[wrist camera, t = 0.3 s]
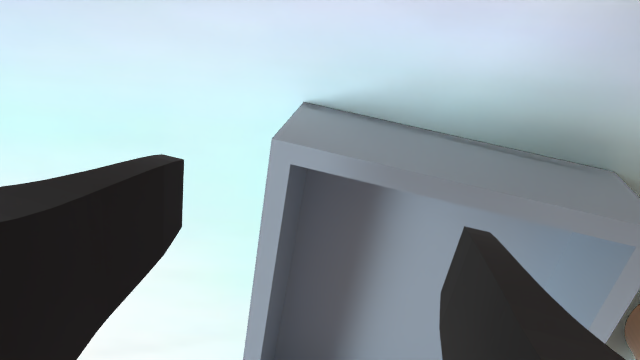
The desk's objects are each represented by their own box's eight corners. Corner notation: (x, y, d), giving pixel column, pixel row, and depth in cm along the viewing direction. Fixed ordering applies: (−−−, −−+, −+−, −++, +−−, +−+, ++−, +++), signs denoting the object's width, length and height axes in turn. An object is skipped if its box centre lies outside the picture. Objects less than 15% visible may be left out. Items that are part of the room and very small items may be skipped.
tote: (479, 435, 27) (492, 527, 23) (261, 372, 28) (231, 447, 24) (614, 171, 19) (673, 233, 15) (303, 101, 21) (271, 138, 16)
